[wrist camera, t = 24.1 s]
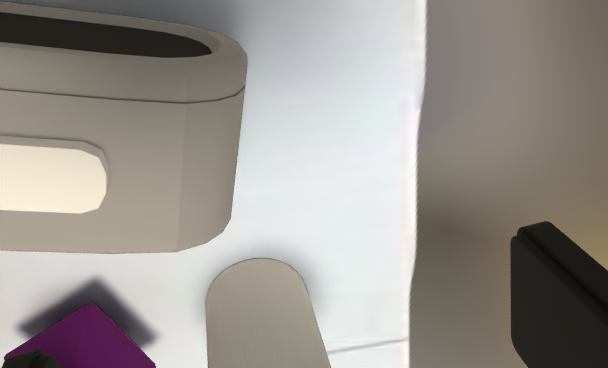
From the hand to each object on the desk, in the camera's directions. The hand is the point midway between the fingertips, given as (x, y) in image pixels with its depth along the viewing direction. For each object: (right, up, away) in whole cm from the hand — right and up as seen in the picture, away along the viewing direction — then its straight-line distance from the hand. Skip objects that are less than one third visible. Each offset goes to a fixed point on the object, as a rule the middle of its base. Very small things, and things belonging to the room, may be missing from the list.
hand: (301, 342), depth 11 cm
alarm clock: (-15, +10, +24) cm, 30 cm away
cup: (-4, -6, +34) cm, 35 cm away
